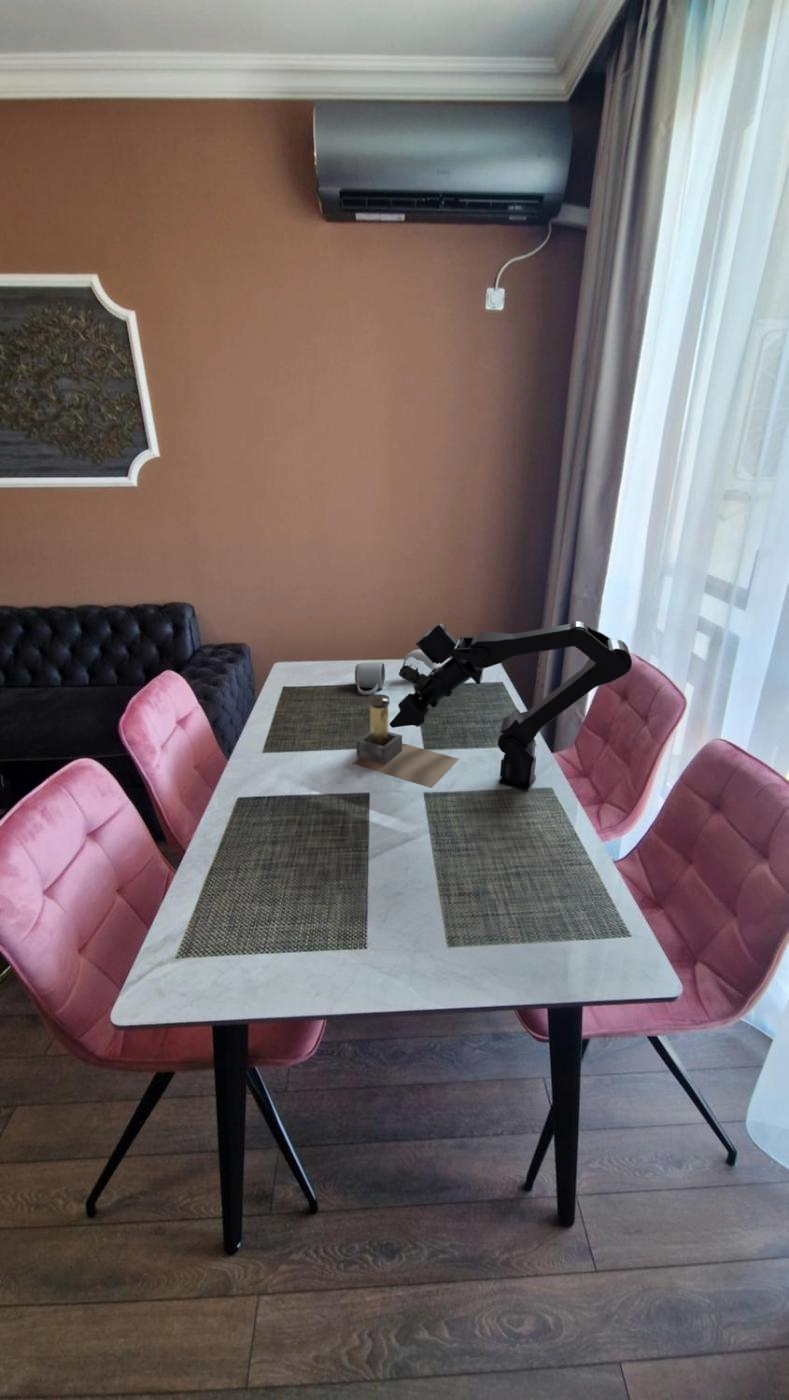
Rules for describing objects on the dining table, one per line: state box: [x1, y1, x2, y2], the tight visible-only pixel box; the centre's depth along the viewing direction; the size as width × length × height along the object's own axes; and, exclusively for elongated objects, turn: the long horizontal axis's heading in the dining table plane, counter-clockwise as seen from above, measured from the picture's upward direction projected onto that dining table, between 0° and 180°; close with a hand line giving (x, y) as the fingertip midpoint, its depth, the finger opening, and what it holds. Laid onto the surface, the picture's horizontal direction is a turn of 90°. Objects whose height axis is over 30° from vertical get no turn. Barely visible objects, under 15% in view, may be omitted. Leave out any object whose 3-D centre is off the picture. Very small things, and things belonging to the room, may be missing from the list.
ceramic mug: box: [354, 661, 386, 696], centre depth 177 cm, size 11×8×8 cm
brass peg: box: [368, 693, 390, 746], centre depth 137 cm, size 5×5×14 cm
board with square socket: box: [351, 730, 460, 789], centre depth 137 cm, size 21×14×6 cm
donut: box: [402, 648, 437, 670], centre depth 182 cm, size 10×3×10 cm, turn 84°
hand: (397, 717), depth 135 cm, fingers open, 9 cm apart
